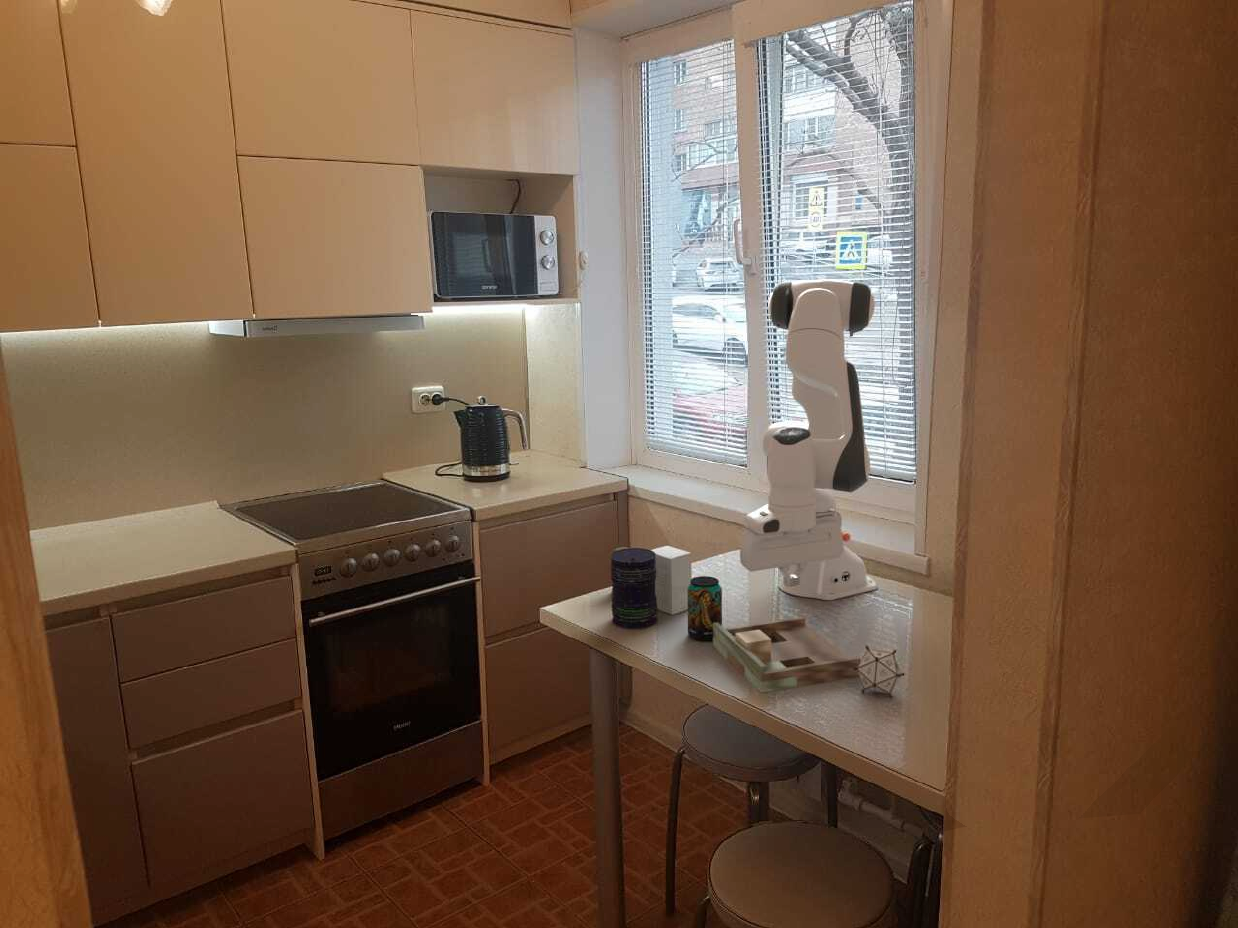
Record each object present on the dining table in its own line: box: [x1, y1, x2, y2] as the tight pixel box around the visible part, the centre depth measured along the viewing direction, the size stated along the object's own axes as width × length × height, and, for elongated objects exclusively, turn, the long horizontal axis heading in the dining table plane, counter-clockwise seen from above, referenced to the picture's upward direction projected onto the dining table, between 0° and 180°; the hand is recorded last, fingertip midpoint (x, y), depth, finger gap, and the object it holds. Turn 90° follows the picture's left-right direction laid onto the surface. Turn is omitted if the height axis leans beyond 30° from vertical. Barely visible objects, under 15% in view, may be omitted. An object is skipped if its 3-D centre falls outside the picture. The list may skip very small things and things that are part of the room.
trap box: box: [712, 616, 862, 694], centre depth 177 cm, size 20×22×5 cm
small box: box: [650, 545, 693, 616], centre depth 205 cm, size 8×6×13 cm
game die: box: [852, 644, 906, 699], centre depth 162 cm, size 9×8×10 cm
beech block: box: [735, 630, 771, 661], centre depth 174 cm, size 5×5×4 cm
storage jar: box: [610, 547, 658, 630], centre depth 197 cm, size 10×10×15 cm
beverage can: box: [687, 575, 723, 642], centre depth 189 cm, size 7×7×12 cm
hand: (792, 585), depth 175 cm, fingers closed
